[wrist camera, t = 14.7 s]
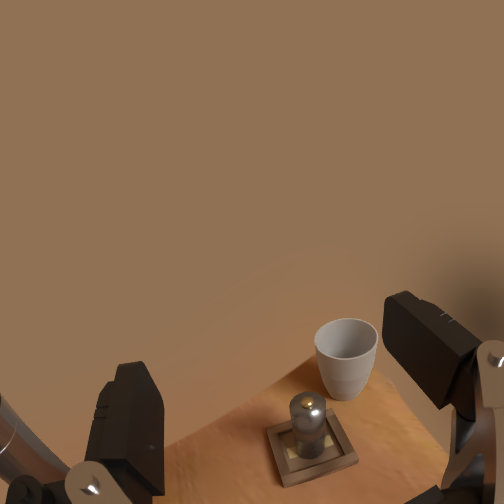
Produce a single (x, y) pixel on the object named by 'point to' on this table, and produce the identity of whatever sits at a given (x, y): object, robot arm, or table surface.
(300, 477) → the bay
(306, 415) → the cell
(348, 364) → the cup
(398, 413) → the table surface
